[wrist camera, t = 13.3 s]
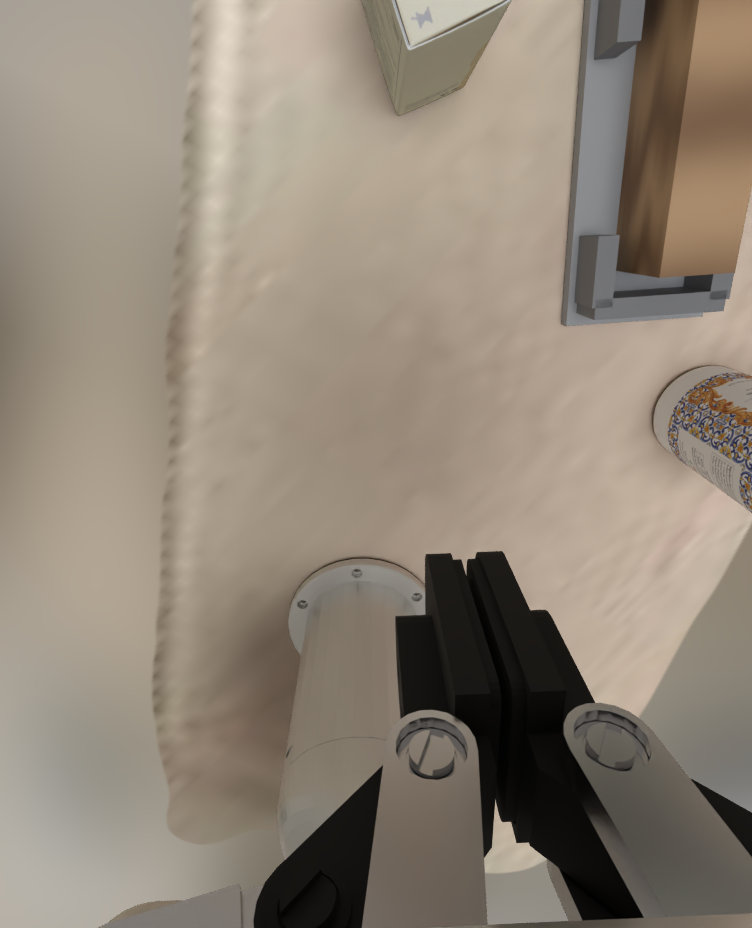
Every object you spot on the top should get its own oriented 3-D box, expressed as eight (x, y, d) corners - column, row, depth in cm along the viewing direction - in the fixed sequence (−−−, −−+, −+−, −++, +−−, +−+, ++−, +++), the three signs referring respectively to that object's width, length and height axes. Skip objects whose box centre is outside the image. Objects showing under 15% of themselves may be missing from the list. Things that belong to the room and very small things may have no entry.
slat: (675, 265, 34) (734, 272, 28) (612, 270, 34) (659, 277, 28) (717, -15, 28) (802, -74, 23) (642, -9, 28) (708, -66, 23)
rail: (693, 314, 36) (730, 323, 32) (561, 323, 36) (583, 334, 33) (759, -75, 28) (818, -121, 24) (589, -61, 28) (622, -104, 24)
